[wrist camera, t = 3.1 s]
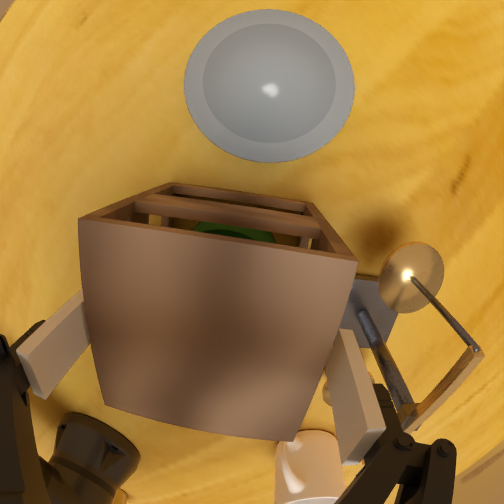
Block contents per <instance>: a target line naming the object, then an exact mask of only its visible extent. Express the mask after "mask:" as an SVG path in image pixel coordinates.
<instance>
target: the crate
mask: <svg viewBox="0 0 504 504" xmlns="http://www.w3.org/2000/svg"><path fill="white" fill-rule="evenodd" d="M175 194H185V195H193V196H200V197H208V198H215V199H222V200H229V201H236V202H243V203H250V204H256V205H263V206H269V207H275V208H281V209H287V210H293V211H299V212H302V213H303V215H298V214H292V213H286V212H280V211H274V210H267V209H261V208H254V207H248V206H241V205H235V204H228V203H221V202H213V201H206V200H199V199H191V198H183V197H175ZM149 214H153V215H161V216H162V219H161V226H155V225H149V224H148V222H149ZM174 217H175V218H182V219H189V220H196V221H203V222H210V223H217V224H223V225H230V226H237V227H243V228H250V229H256V230H262V231H269V232H275V233H281V234H287V235H294V236H299V240H298V245H297V247H293V246H286V245H280V244H274V243H268V242H261V241H255V240H248V239H242V238H235V237H229V236H222V235H216V234H209V233H203V232H196V231H189V230H183V229H176V228H173V218H174ZM78 237H79V256H80V269H81V280H82V289H83V298H84V306H85V313H86V319H87V326H88V332H89V337H90V343H91V348H92V353H93V358H94V363H95V367H96V372H97V376H98V380H99V384H100V388H101V392H102V396H103V399H104V403H105V405H107V406H110V407H113V408H116V409H119V410H122V411H125V412H128V413H132V414H135V415H138V416H142V417H145V418H149V419H153V420H156V421H160V422H164V423H168V424H172V425H177V426H181V427H186V428H190V429H195V430H200V431H205V432H211V433H217V434H223V435H229V436H236V437H244V438H252V439H261V440H271V441H284V442H293V441H294V439H295V437H296V435H297V433H298V430H299V428H300V426H301V424H302V421H303V419H304V417H305V415H306V412H307V410H308V408H309V405H310V403H311V400H312V398H313V396H314V393H315V391H316V388H317V386H318V383H319V381H320V378H321V376H322V373H323V370H324V368H325V365H326V362H327V360H328V357H329V354H330V352H331V349H332V346H333V343H334V340H335V337H336V334H337V332H338V329H339V326H340V323H341V320H342V317H343V313H344V310H345V307H346V304H347V301H348V298H349V294H350V291H351V288H352V284H353V281H354V277H355V274H356V270H357V267H358V263H359V261H358V260H357V259H356V257H355V256H354V255H353V253H352V252H351V251H350V250H349V248H348V247H347V246H346V244H345V243H344V242H343V240H342V239H341V238H340V237H339V235H338V234H337V233H336V231H335V230H334V229H333V228H332V226H331V225H330V224H329V223H328V221H327V220H326V219H325V217H324V216H323V215H322V214H321V213H320V211H319V210H318V209H317V208H316V206H315V205H314V204H313V203H308V202H303V201H297V200H291V199H285V198H279V197H273V196H267V195H261V194H254V193H247V192H241V191H234V190H226V189H219V188H212V187H204V186H196V185H188V184H179V183H167V184H164V185H161V186H158V187H156V188H153V189H150V190H147V191H145V192H142V193H139V194H137V195H134V196H132V197H129V198H126V199H124V200H121V201H119V202H116V203H114V204H111V205H109V206H107V207H104V208H102V209H99V210H97V211H95V212H92V213H90V214H88V215H85V216H83V217H81V218H78ZM309 238H312V244H311V248H310V249H307V247H308V242H309Z"/></svg>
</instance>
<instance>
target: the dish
mask: <svg viewBox="0 0 504 504" xmlns="http://www.w3.org/2000/svg"><path fill="white" fill-rule="evenodd" d="M354 90H355V85H354V75H353V71H352V67H351V64H350V62H349V59H348V57H347V55H346V53H345V51H344V50H343V48H342V47H341V45H340V44H339V43H338V41H337V40H336V39H335V38H334V37H333V36H332V35H331V34H330V33H329V32H328V31H327V30H326V29H324V28H323V27H322V26H320V25H319V24H317V23H316V22H314V21H312V20H310V19H308V18H306V17H304V16H301V15H298V14H295V13H292V12H287V11H282V10H272V9H265V10H254V11H248V12H244V13H241V14H237V15H235V16H233V17H230V18H228V19H226V20H224V21H222V22H221V23H219V24H218V25H216V26H215V27H213V28H212V29H211V30H210V31H209V32H208V33H207V34H206V35H205V36H203V38H202V39H201V40H200V41H199V43H198V44H197V45H196V47H195V49H194V50H193V52H192V54H191V56H190V58H189V61H188V63H187V67H186V71H185V78H184V93H185V99H186V103H187V106H188V109H189V112H190V114H191V116H192V118H193V120H194V122H195V123H196V125H197V126H198V128H199V129H200V130H201V132H202V133H203V134H204V135H205V136H206V137H207V138H208V139H209V140H210V141H212V142H213V143H214V144H215V145H216V146H218V147H220V148H221V149H223V150H224V151H226V152H228V153H230V154H232V155H234V156H237V157H240V158H243V159H246V160H251V161H256V162H266V163H275V162H285V161H291V160H295V159H298V158H302V157H304V156H307V155H309V154H311V153H313V152H315V151H317V150H318V149H320V148H322V147H323V146H324V145H326V144H327V143H328V142H330V141H331V140H332V139H333V138H334V137H335V136H336V135H337V134H338V132H339V131H340V129H341V128H342V127H343V125H344V124H345V122H346V120H347V118H348V116H349V114H350V111H351V108H352V104H353V100H354Z"/></svg>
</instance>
